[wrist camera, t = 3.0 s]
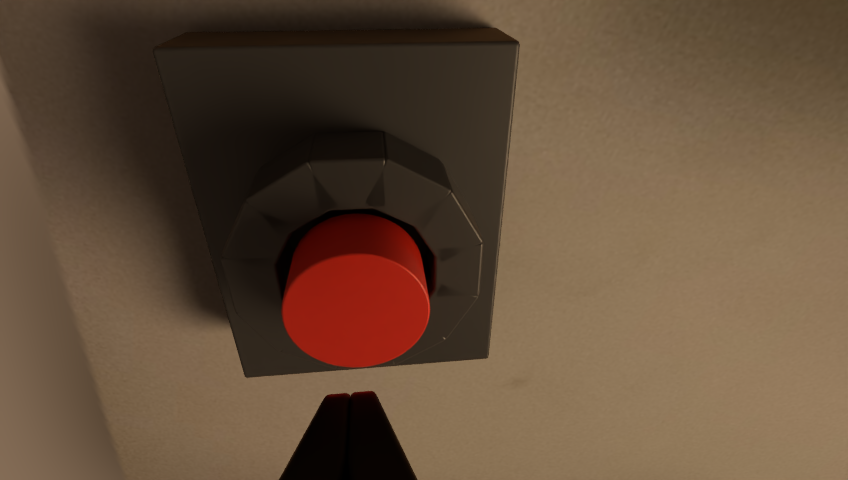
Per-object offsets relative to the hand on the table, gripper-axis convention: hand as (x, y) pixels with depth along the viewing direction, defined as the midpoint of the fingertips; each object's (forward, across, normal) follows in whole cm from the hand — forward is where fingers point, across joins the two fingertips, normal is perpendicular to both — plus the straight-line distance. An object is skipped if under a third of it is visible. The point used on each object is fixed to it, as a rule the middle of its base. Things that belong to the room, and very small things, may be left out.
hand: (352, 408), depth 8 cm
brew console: (+8, 0, 0) cm, 8 cm away
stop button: (+4, 0, 0) cm, 4 cm away
